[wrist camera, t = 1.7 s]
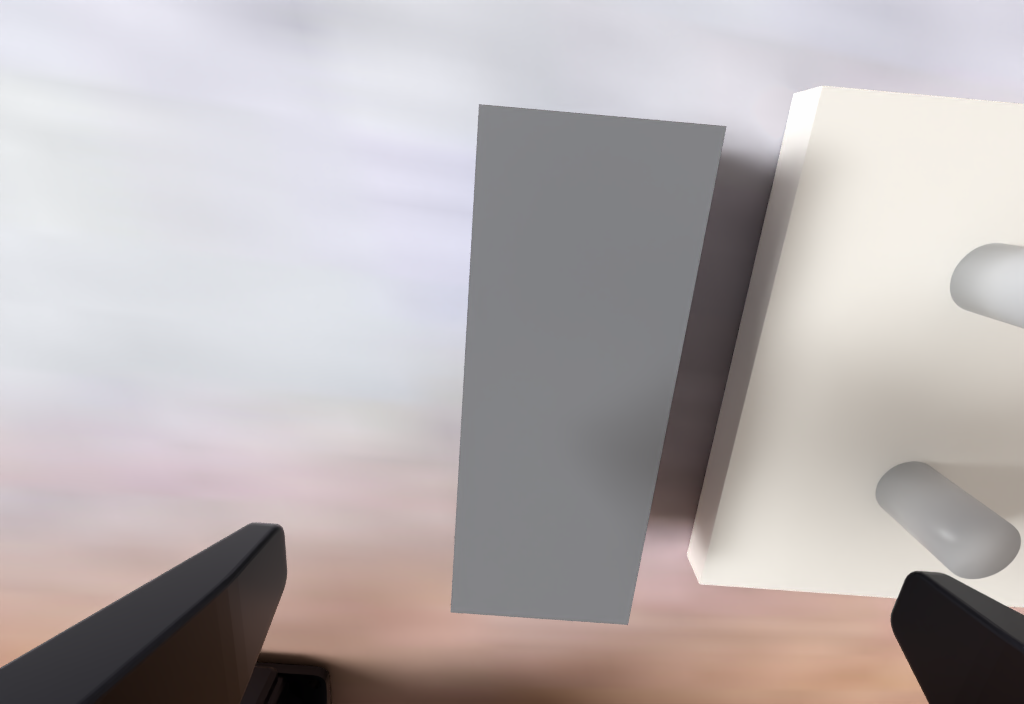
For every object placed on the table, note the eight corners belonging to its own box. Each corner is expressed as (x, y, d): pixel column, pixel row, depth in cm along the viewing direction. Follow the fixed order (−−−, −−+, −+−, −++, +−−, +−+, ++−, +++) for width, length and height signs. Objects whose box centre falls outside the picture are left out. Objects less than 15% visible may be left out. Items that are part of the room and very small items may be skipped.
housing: (601, 515, 20) (628, 624, 15) (466, 505, 20) (450, 612, 15) (662, 139, 15) (726, 126, 11) (490, 124, 15) (479, 104, 11)
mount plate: (994, 577, 20) (1120, 684, 16) (686, 555, 20) (732, 657, 16) (1205, 130, 15) (1473, 115, 11) (793, 93, 15) (904, 63, 11)
